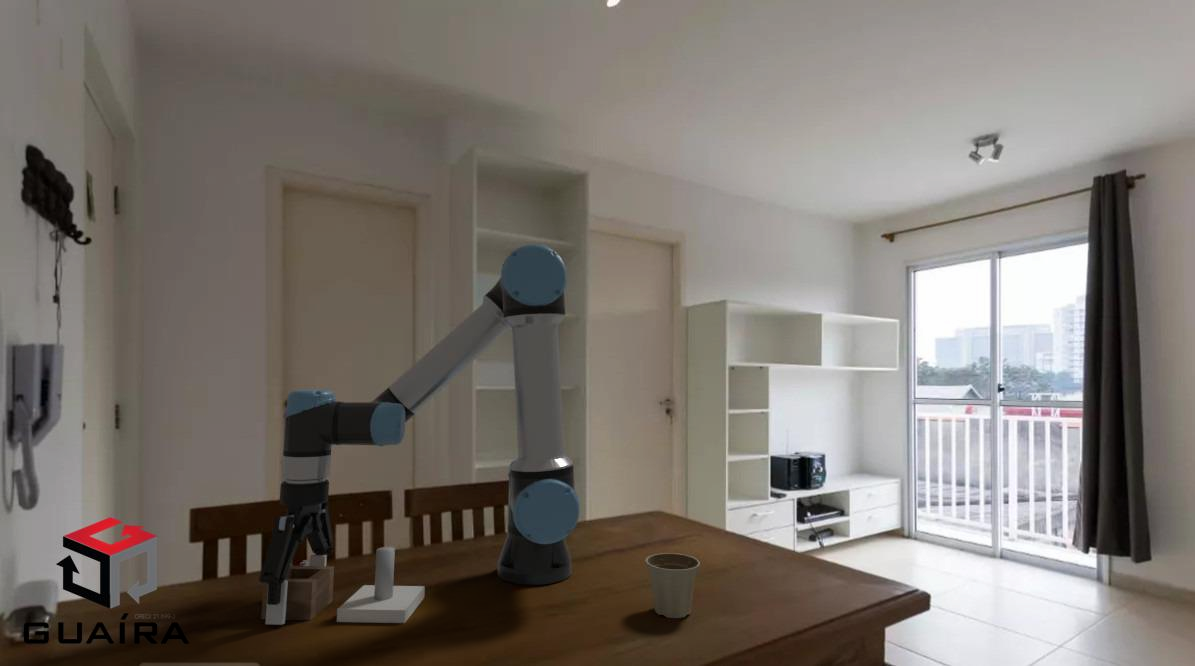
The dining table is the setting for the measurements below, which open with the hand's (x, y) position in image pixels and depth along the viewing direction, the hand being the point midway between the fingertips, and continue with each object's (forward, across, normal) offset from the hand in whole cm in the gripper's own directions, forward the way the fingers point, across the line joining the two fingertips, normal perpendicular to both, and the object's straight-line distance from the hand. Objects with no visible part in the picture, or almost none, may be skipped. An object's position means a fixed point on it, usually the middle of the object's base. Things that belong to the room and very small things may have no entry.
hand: (297, 607), depth 99 cm
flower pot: (0, -2, +64) cm, 64 cm away
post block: (0, -1, +14) cm, 14 cm away
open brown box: (0, 0, 0) cm, 1 cm away
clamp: (+1, -14, -6) cm, 16 cm away
